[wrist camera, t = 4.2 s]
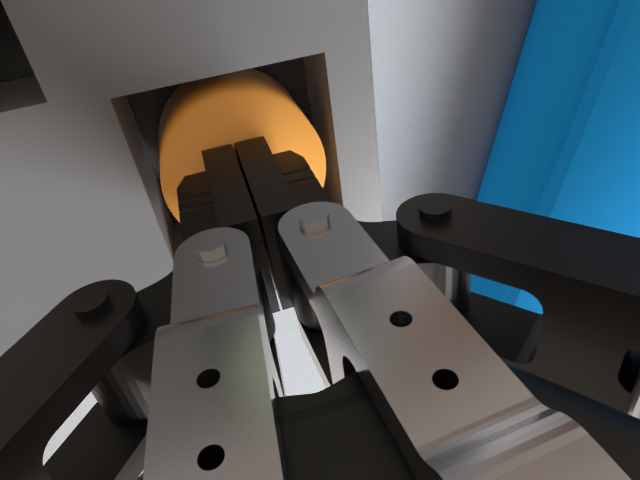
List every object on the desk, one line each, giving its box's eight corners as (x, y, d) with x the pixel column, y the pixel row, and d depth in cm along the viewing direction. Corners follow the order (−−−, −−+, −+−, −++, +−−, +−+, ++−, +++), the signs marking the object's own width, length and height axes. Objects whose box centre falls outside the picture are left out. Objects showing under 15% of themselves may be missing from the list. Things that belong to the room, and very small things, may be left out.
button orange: (290, 51, 13) (314, 78, 11) (310, 182, 16) (334, 224, 14) (137, 84, 13) (134, 118, 11) (182, 215, 15) (187, 263, 13)
